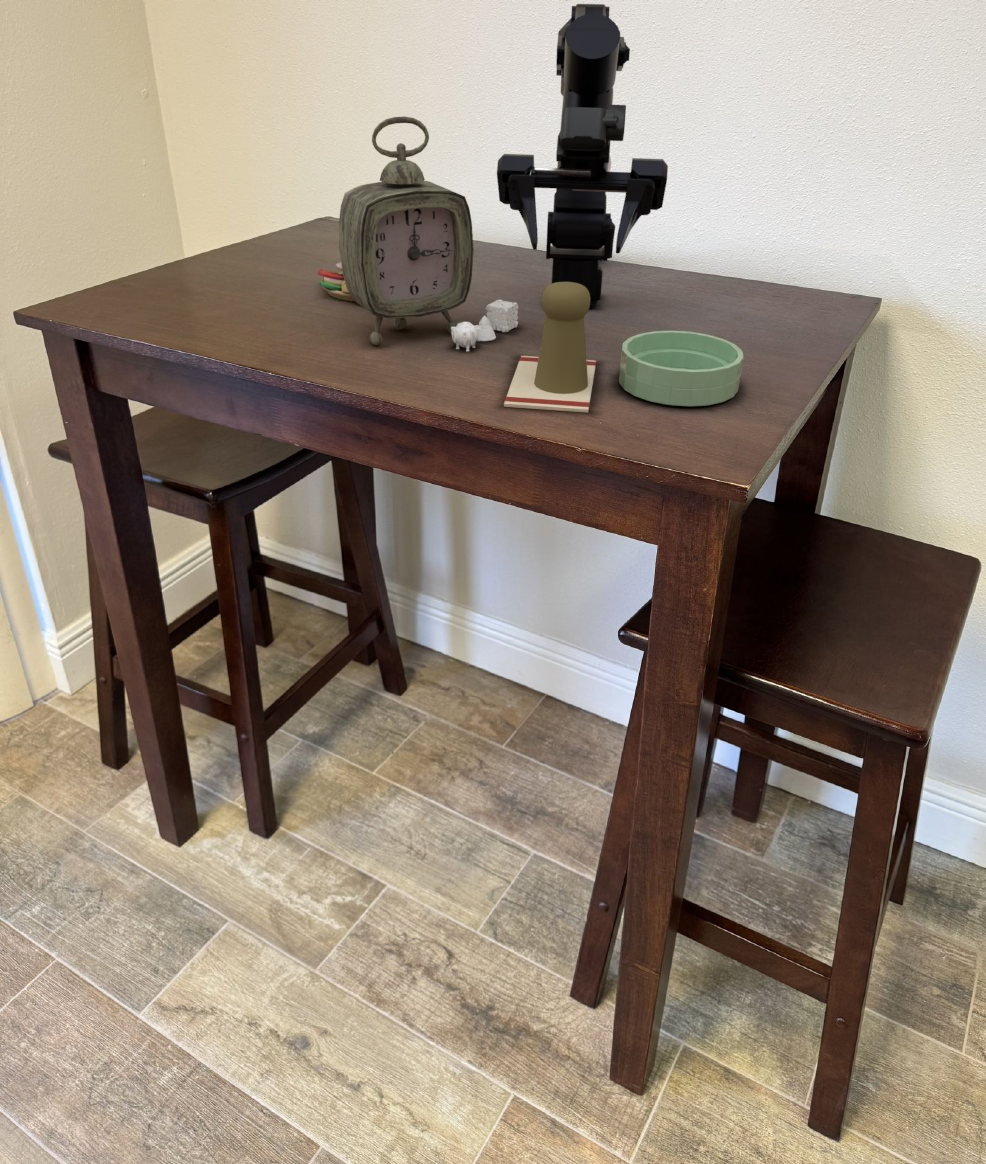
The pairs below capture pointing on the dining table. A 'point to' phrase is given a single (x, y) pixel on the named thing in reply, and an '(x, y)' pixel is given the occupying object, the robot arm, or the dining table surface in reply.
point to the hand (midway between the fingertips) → (576, 249)
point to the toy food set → (335, 283)
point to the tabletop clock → (405, 241)
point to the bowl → (680, 368)
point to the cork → (563, 339)
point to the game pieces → (487, 324)
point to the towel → (534, 398)
